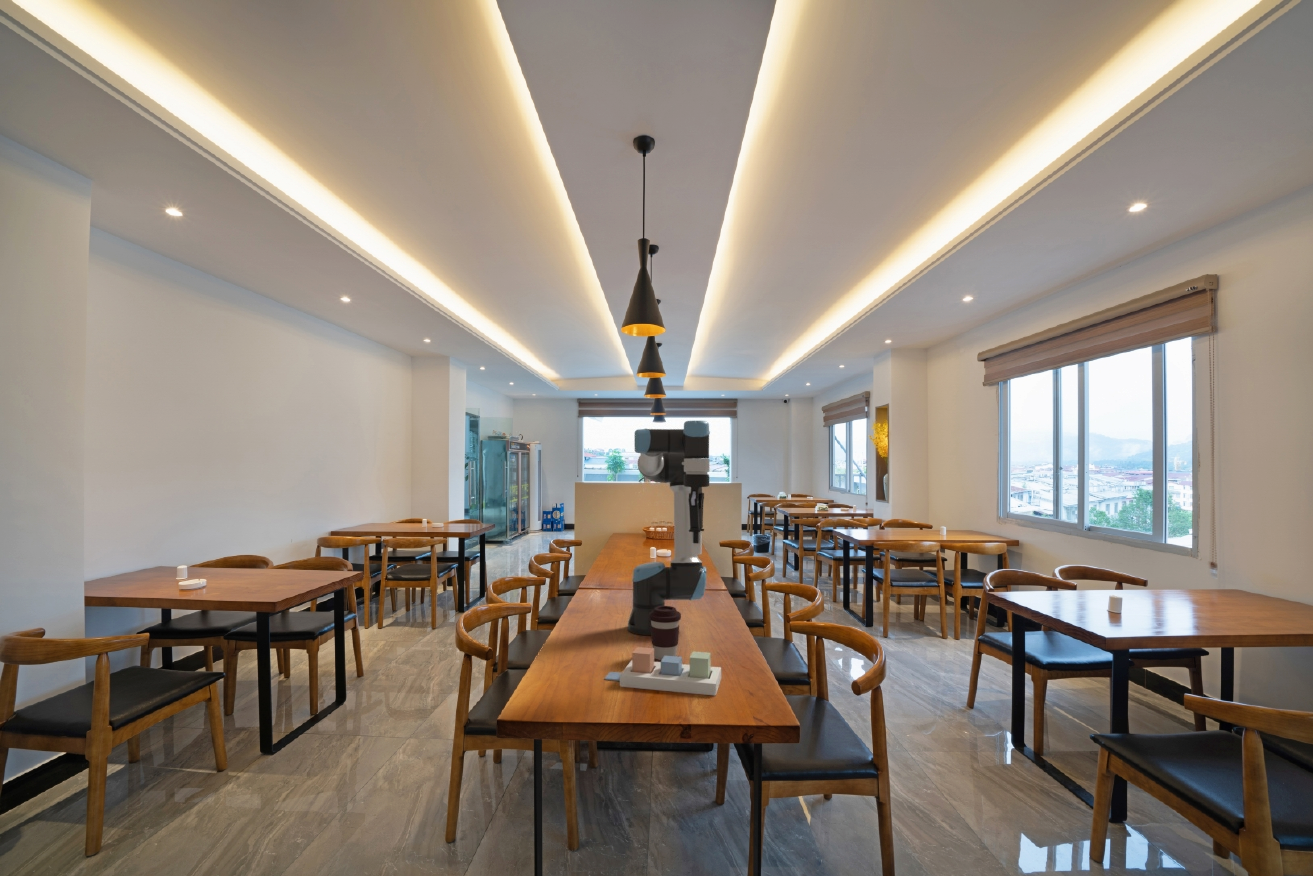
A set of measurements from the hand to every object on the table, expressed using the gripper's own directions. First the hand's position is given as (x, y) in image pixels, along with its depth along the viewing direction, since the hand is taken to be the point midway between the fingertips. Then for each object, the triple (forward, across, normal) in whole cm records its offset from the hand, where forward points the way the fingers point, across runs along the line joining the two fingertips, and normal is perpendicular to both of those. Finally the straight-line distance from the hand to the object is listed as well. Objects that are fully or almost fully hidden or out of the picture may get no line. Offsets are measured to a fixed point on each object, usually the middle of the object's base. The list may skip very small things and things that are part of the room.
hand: (696, 554), depth 164 cm
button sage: (+31, +10, +3) cm, 32 cm away
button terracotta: (+31, +10, -13) cm, 35 cm away
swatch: (+34, +10, -21) cm, 41 cm away
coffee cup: (+34, -9, -12) cm, 37 cm away
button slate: (+33, +10, -5) cm, 35 cm away
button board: (+34, +10, -5) cm, 35 cm away
